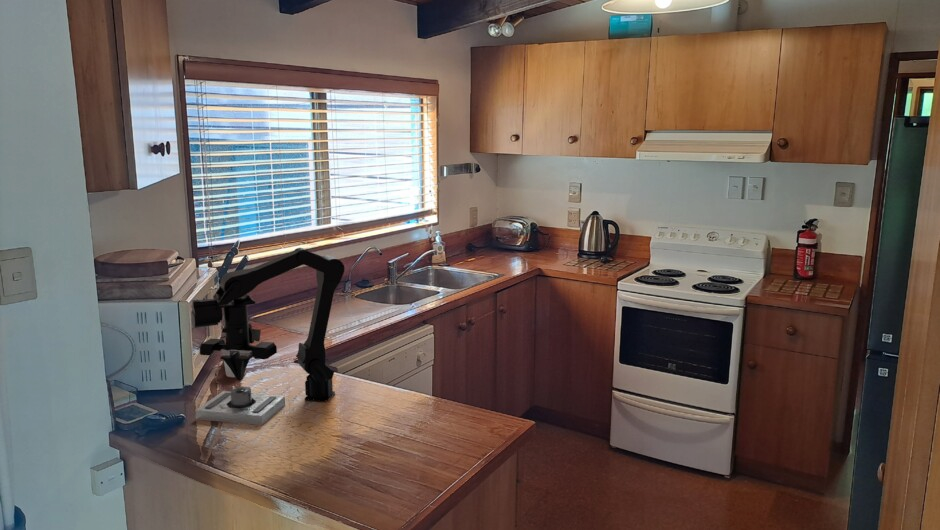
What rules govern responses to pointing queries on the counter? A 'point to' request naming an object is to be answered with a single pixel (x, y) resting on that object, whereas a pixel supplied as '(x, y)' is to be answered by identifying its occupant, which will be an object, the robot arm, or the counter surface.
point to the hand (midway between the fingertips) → (240, 380)
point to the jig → (254, 414)
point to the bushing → (241, 397)
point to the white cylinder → (229, 371)
